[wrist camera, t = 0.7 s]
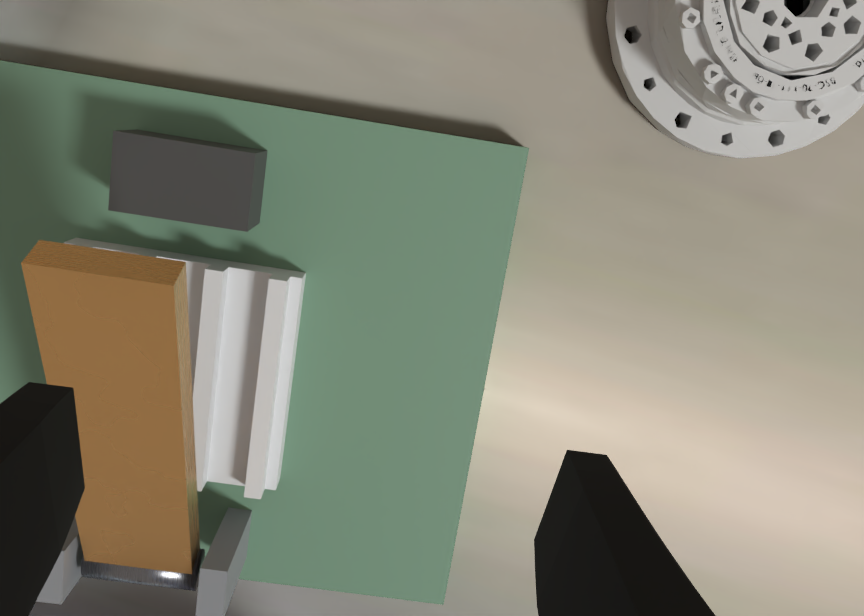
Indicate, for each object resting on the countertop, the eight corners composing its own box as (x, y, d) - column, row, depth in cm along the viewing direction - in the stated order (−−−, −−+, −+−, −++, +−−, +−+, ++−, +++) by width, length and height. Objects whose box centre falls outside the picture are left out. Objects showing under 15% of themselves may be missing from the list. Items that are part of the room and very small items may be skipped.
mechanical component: (721, -212, 25) (547, 54, 27) (784, -279, 21) (573, 43, 23) (944, -33, 27) (766, 208, 29) (1045, -61, 23) (828, 224, 25)
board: (442, 586, 32) (448, 676, 27) (-109, 517, 31) (-214, 597, 25) (524, 146, 28) (550, 153, 23) (-110, 41, 26) (-236, 23, 21)
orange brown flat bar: (205, 563, 28) (194, 598, 27) (99, 549, 28) (83, 585, 27) (191, 257, 20) (175, 291, 19) (38, 234, 19) (13, 267, 18)
